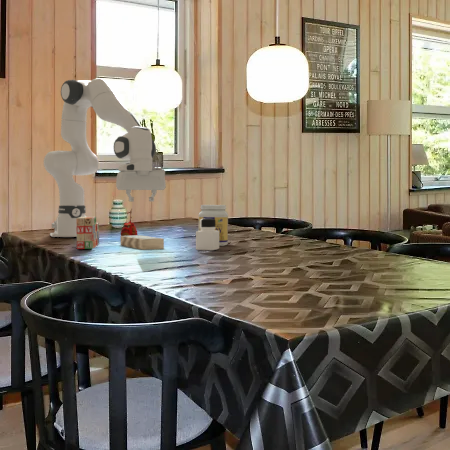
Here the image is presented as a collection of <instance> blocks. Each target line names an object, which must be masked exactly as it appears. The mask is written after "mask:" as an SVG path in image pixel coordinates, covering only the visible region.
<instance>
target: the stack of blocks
mask: <svg viewBox="0 0 450 450" xmlns="http://www.w3.org/2000/svg"><path fill="white" fill-rule="evenodd" d="M76 223H77V228H76V230H77V237H76V249H77V250H93V249H94V248H96V247H97V246H98V245H99V244H100V225H99V224H100V223H99V222H97V216H87V217H79V218H76Z"/></svg>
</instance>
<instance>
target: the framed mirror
mask: <svg viewBox="0 0 450 450" xmlns="http://www.w3.org/2000/svg"><path fill="white" fill-rule="evenodd" d="M164 244H165V238H161V237H153V236H148V235H140V234H139V235H132V236H121V235H120V246H123V247H126V248H132V249H138V250H144V251H145V250H161V249H163V250H164V249H165V248H164V247H165V245H164Z"/></svg>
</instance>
